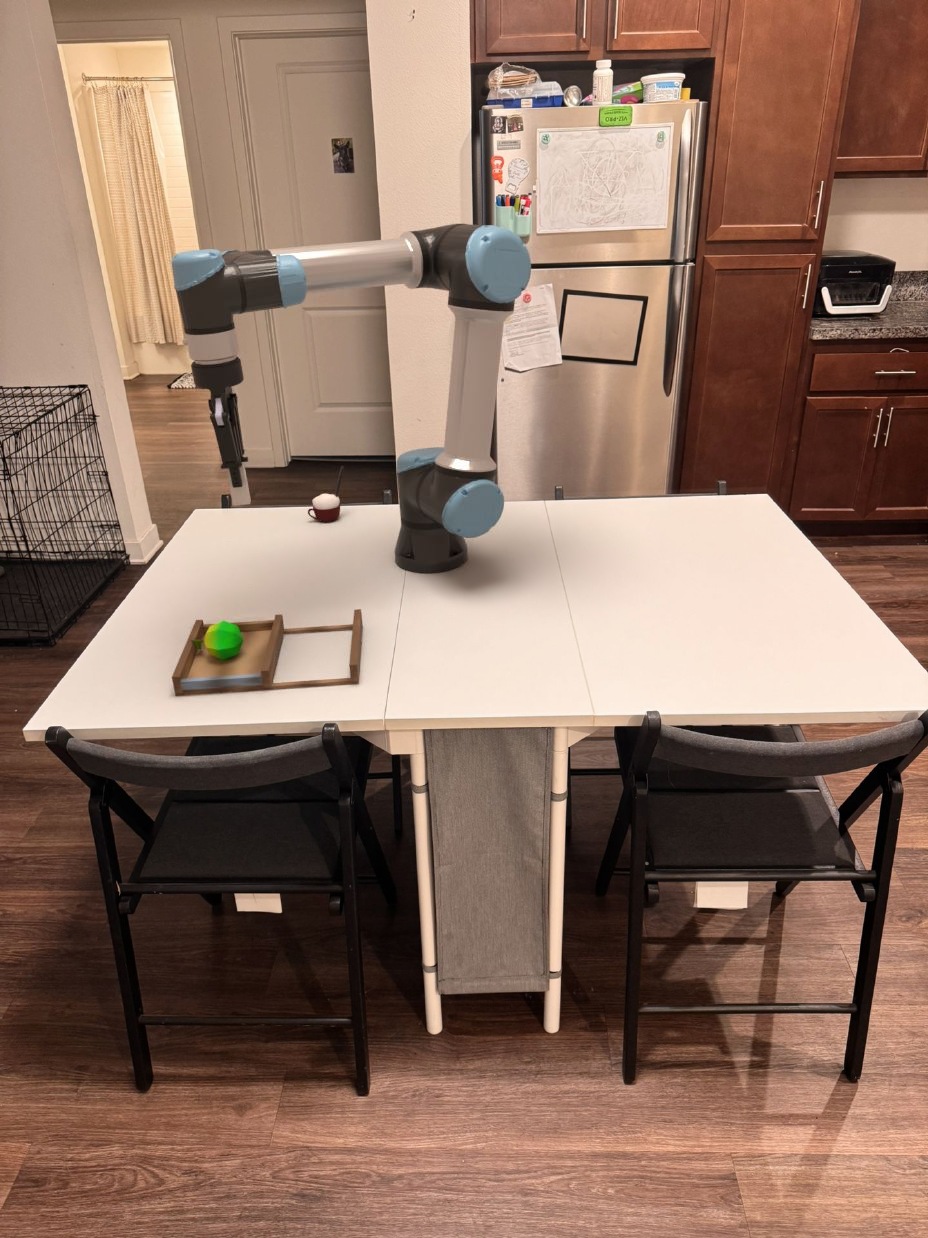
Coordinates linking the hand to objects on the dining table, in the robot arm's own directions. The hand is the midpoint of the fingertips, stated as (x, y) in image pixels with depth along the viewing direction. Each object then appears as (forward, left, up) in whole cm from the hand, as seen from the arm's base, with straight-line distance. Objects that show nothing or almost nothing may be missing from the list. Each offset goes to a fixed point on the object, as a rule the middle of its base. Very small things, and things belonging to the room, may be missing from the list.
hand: (242, 503), depth 153 cm
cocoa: (-8, -58, -26) cm, 64 cm away
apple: (+6, +7, -24) cm, 26 cm away
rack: (-3, +8, -25) cm, 27 cm away
